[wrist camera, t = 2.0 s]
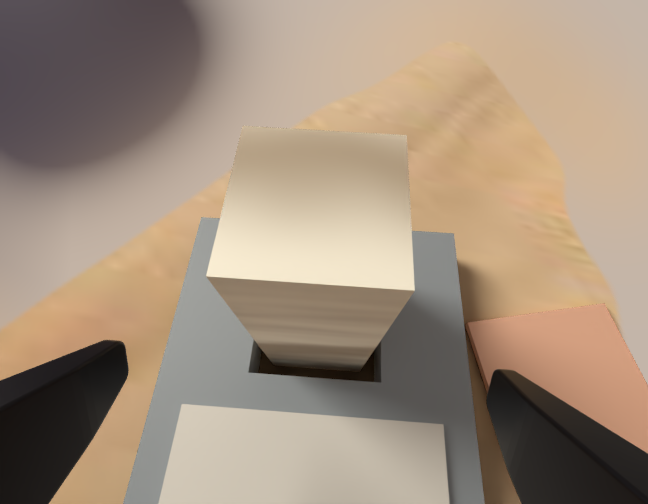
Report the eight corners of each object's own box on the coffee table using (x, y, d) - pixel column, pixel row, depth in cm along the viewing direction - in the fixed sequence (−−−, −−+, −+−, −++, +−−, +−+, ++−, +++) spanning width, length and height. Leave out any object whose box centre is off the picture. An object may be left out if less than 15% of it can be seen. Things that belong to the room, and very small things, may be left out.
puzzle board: (490, 806, 12) (537, 914, 9) (84, 764, 12) (20, 856, 9) (439, 253, 21) (456, 229, 19) (213, 239, 22) (199, 213, 19)
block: (359, 371, 18) (414, 290, 7) (273, 365, 18) (206, 276, 7) (361, 291, 20) (406, 135, 9) (284, 285, 20) (242, 125, 10)
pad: (683, 468, 16) (692, 469, 16) (521, 497, 16) (526, 498, 15) (599, 305, 20) (604, 303, 19) (464, 324, 19) (467, 322, 19)
